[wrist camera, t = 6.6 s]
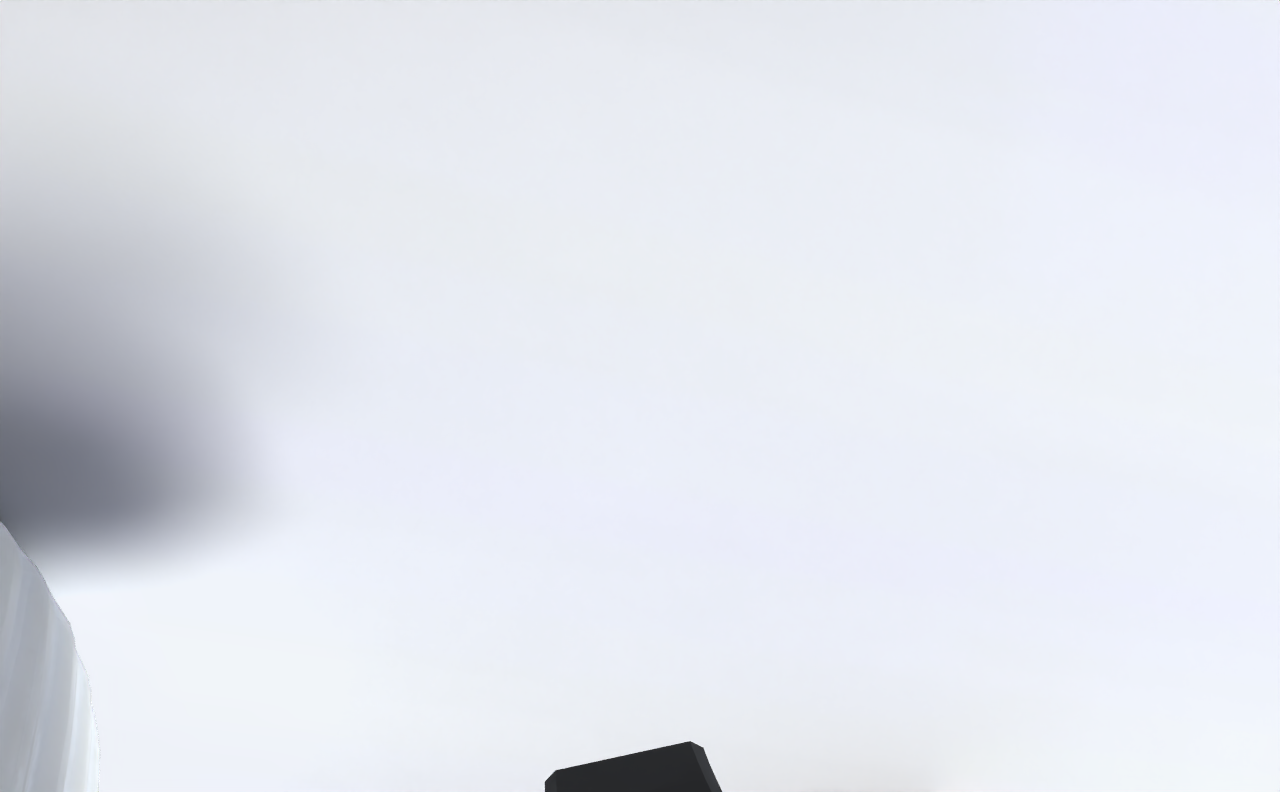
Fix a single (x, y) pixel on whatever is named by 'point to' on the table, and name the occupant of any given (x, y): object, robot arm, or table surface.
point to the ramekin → (41, 687)
